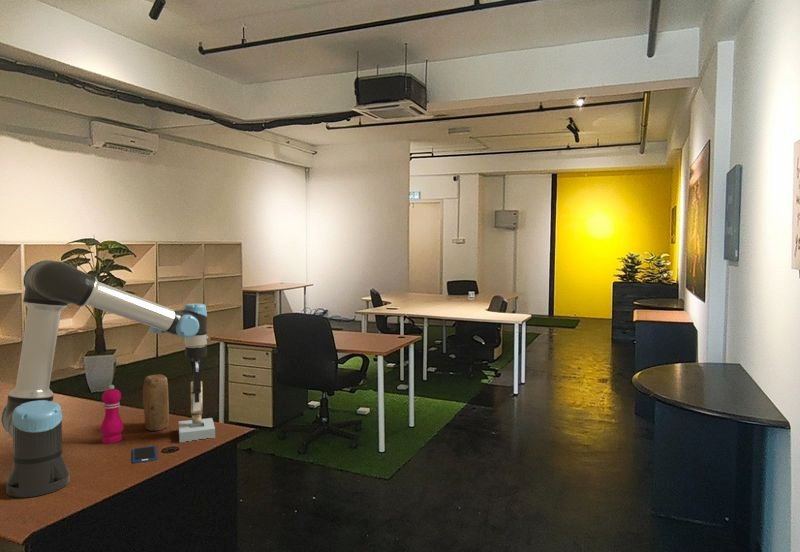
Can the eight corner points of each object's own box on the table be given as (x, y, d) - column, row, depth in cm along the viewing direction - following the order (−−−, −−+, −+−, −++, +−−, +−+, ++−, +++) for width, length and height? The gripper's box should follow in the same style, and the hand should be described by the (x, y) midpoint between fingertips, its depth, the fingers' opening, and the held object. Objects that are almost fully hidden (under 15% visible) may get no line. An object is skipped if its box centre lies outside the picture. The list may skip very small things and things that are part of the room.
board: (179, 442, 194) (179, 432, 194) (178, 430, 207) (178, 421, 207) (215, 438, 199) (215, 428, 199) (212, 426, 212) (212, 417, 212)
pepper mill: (113, 444, 192) (113, 387, 191) (95, 443, 193) (95, 386, 192) (128, 437, 199) (127, 383, 198) (110, 436, 200) (109, 381, 199)
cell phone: (132, 464, 175) (132, 462, 175) (132, 450, 187) (132, 448, 187) (157, 461, 178) (157, 458, 178) (155, 447, 191) (155, 445, 191)
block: (170, 429, 209) (169, 377, 208) (149, 433, 204) (148, 379, 203) (161, 422, 217) (161, 372, 216) (141, 425, 212) (140, 374, 211)
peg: (190, 424, 200) (190, 383, 200) (190, 421, 204) (190, 381, 203) (203, 423, 202) (202, 382, 201) (202, 420, 206) (202, 380, 205)
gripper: (208, 349, 195) (209, 414, 196) (205, 341, 211) (205, 402, 212) (186, 350, 192) (186, 416, 193) (184, 342, 208) (184, 403, 209)
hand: (196, 408), depth 203 cm, fingers closed on peg, 4 cm apart
